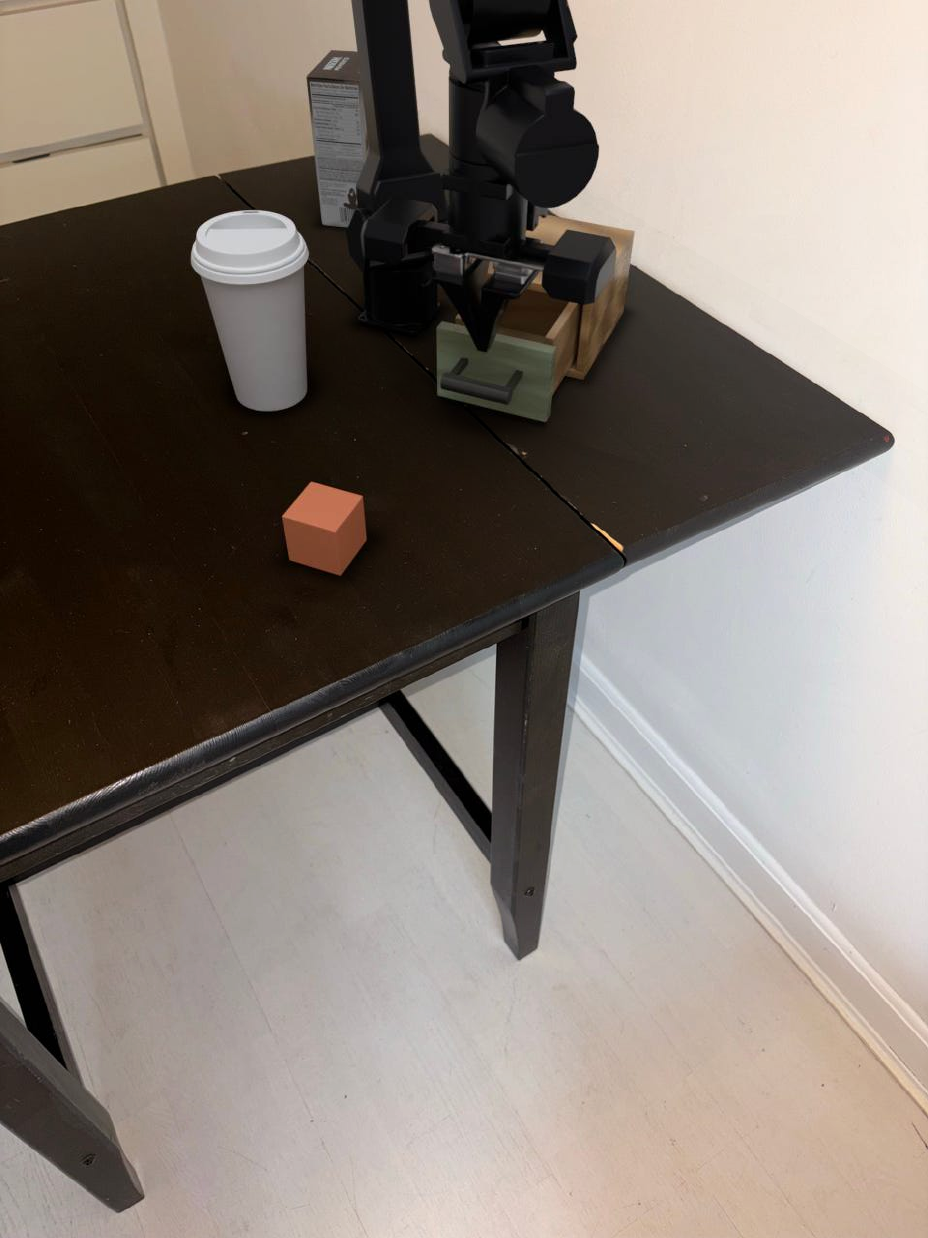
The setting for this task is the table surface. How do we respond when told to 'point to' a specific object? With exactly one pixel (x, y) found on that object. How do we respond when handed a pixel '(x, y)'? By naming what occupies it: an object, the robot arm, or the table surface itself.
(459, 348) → the drawer
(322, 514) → the block
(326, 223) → the coffee box
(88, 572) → the table surface
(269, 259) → the coffee cup
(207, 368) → the table surface
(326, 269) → the table surface
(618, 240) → the cabinet
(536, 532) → the table surface
